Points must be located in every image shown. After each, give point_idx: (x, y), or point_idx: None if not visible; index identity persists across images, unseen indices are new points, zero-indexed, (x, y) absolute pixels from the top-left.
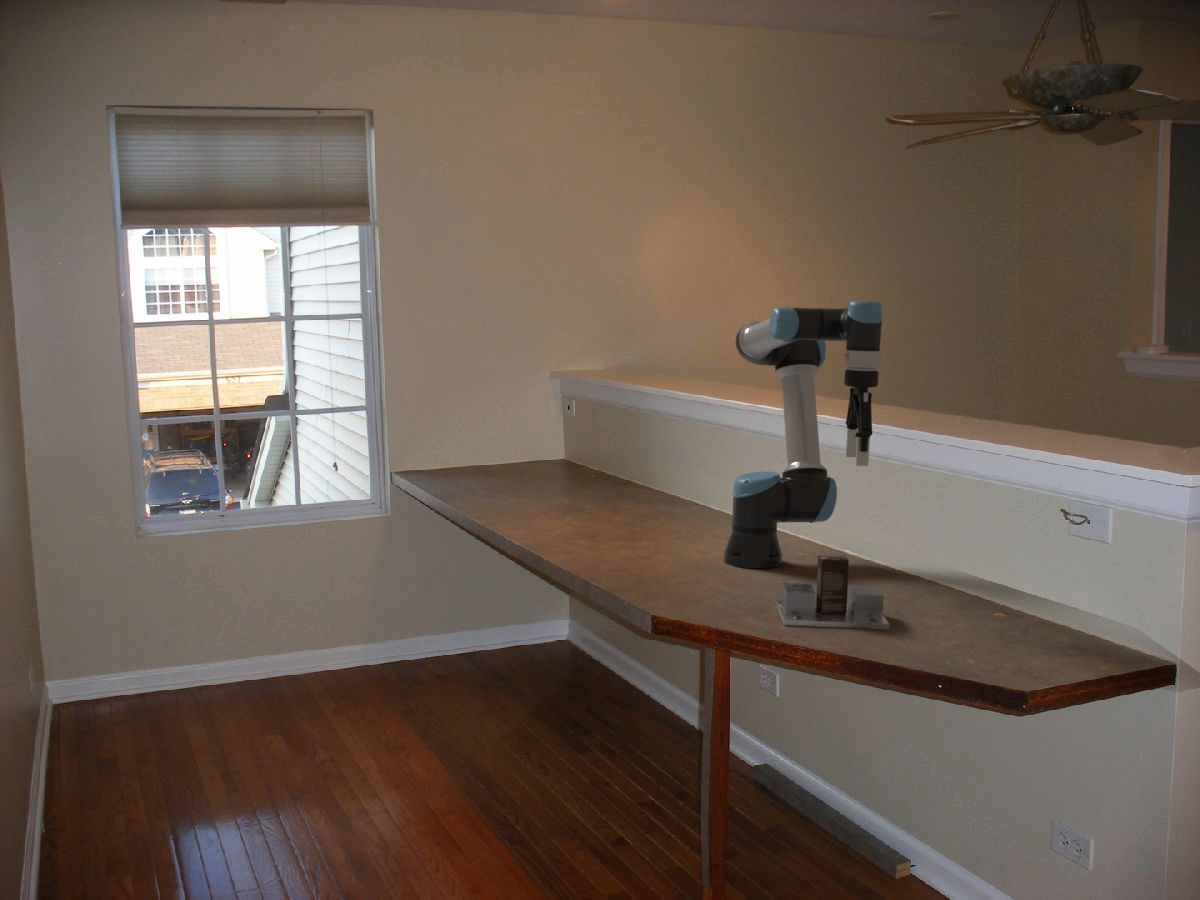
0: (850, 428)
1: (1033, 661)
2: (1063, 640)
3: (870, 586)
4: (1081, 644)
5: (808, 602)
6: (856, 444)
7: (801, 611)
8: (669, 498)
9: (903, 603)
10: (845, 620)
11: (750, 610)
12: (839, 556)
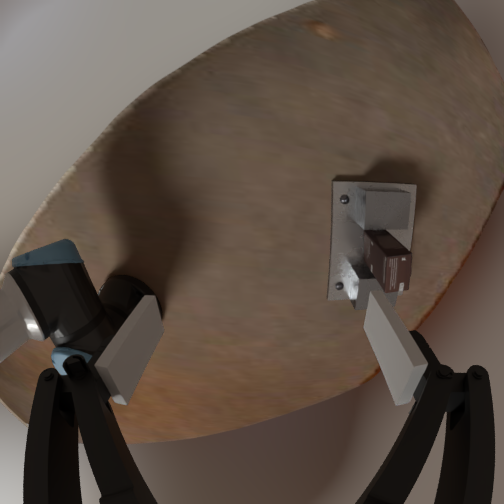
0: (108, 396)
1: (473, 79)
2: (409, 16)
3: (368, 200)
4: (416, 8)
5: None
6: (138, 331)
7: None
8: None
9: (297, 135)
10: (406, 233)
11: (348, 321)
12: (393, 264)
